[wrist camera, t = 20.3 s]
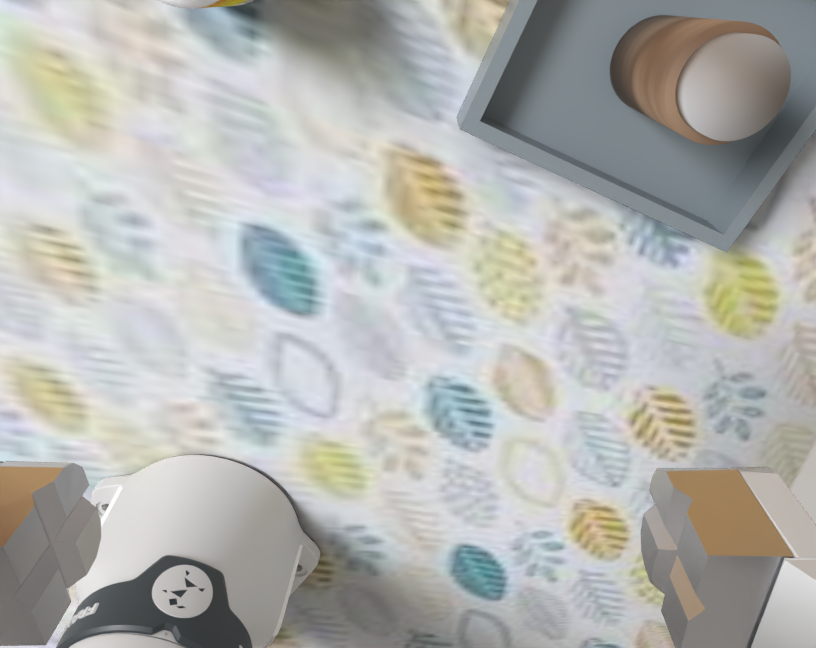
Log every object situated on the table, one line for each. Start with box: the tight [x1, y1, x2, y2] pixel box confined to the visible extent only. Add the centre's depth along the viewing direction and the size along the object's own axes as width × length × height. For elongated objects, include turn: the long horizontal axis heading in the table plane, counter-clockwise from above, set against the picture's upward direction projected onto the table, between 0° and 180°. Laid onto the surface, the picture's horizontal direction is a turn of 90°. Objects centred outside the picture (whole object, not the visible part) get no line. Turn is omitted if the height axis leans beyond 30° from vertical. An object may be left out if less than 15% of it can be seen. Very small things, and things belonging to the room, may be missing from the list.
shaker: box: [610, 15, 791, 145], centre depth 30 cm, size 5×5×10 cm
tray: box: [457, 0, 816, 252], centre depth 33 cm, size 14×17×4 cm
